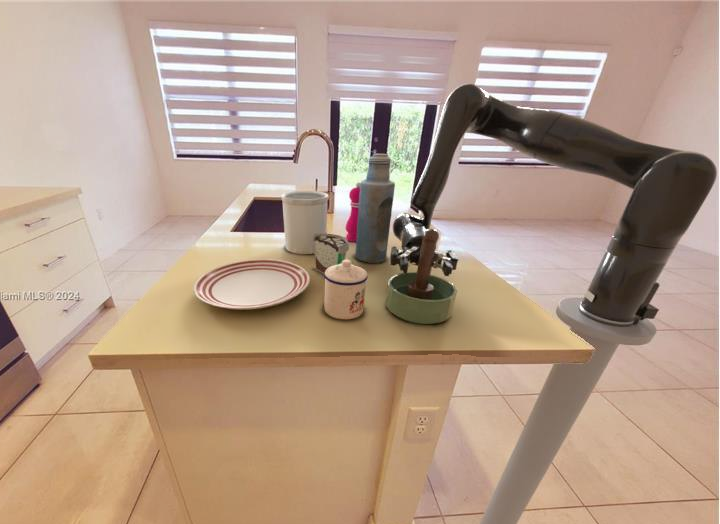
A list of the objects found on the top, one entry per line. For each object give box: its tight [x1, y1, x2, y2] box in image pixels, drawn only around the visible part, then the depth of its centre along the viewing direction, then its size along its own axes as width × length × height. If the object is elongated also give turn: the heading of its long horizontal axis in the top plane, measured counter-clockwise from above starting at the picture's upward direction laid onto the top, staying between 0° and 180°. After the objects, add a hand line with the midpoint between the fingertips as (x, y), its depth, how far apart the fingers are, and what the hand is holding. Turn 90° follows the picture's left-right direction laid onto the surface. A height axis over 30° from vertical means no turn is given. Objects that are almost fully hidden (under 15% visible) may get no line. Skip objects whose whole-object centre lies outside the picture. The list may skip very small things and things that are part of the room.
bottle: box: [355, 153, 396, 264], centre depth 92 cm, size 10×10×30 cm
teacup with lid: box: [323, 259, 368, 320], centre depth 68 cm, size 12×9×12 cm
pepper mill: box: [345, 182, 361, 243], centre depth 111 cm, size 7×7×20 cm
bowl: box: [385, 272, 458, 325], centre depth 69 cm, size 14×14×6 cm
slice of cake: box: [313, 233, 350, 275], centre depth 86 cm, size 12×6×10 cm, turn 35°
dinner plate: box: [193, 258, 311, 310], centre depth 77 cm, size 27×27×3 cm
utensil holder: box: [281, 190, 330, 255], centre depth 102 cm, size 15×15×18 cm
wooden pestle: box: [407, 228, 440, 300], centre depth 66 cm, size 5×5×18 cm
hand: (426, 270), depth 64 cm, fingers open, 8 cm apart
